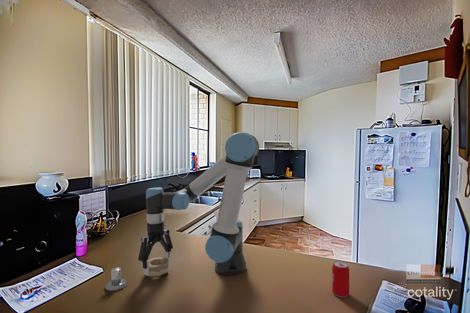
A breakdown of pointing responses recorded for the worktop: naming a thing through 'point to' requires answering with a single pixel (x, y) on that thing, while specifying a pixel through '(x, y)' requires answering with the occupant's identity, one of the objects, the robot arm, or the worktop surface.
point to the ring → (158, 266)
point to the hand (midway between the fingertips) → (157, 269)
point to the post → (115, 280)
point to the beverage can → (340, 279)
